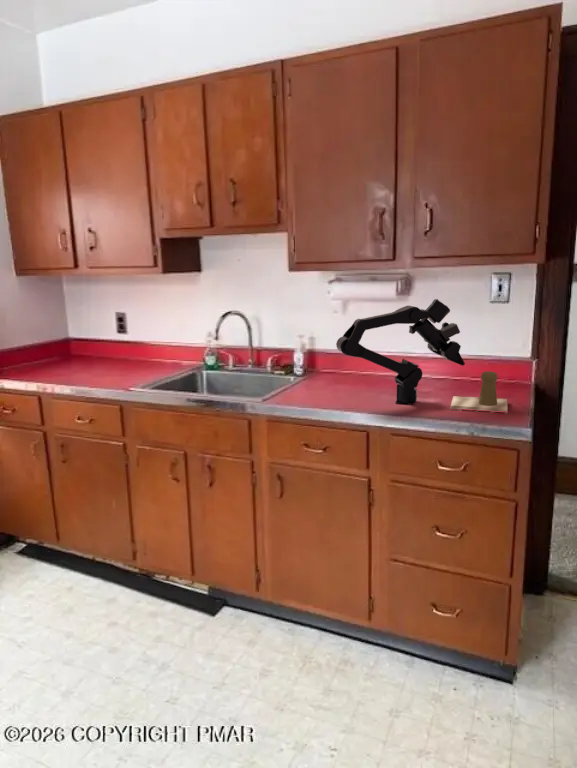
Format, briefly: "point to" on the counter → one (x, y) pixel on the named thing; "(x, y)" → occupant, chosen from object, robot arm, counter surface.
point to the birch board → (477, 404)
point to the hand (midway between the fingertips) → (458, 362)
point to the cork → (488, 389)
